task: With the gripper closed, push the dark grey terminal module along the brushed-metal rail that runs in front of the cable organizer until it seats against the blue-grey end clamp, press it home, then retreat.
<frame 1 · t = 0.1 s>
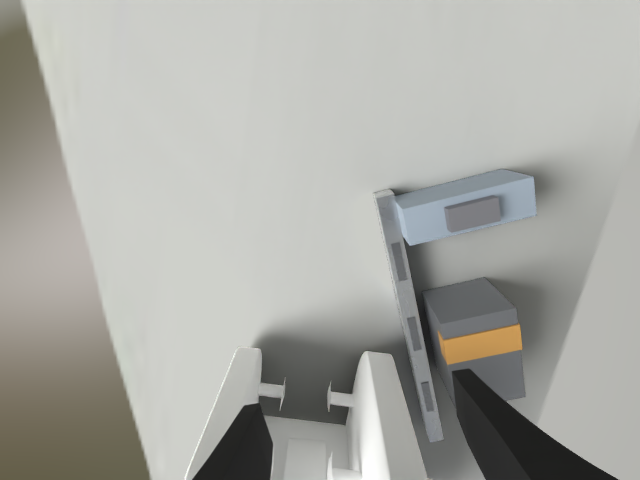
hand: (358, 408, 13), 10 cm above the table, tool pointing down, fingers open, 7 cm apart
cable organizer: (306, 412, 26), on the table
module: (458, 323, 23), on the table
rail: (408, 321, 23), on the table
end clamp: (448, 199, 20), on the table
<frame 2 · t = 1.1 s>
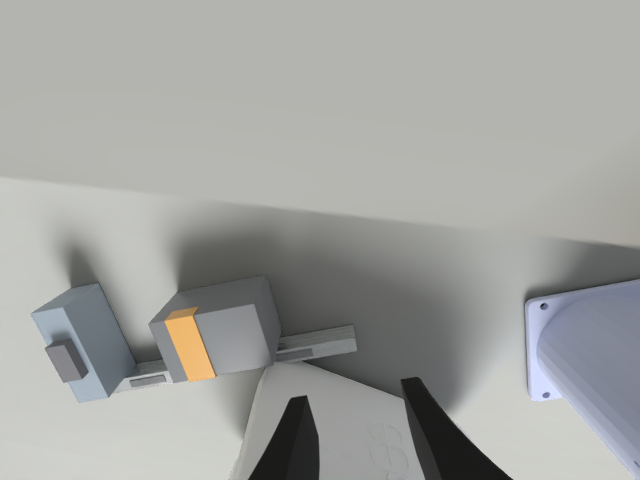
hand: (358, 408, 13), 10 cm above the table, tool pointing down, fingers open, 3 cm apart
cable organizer: (343, 425, 26), on the table
module: (230, 309, 23), on the table
rail: (226, 353, 24), on the table
end clamp: (104, 327, 23), on the table
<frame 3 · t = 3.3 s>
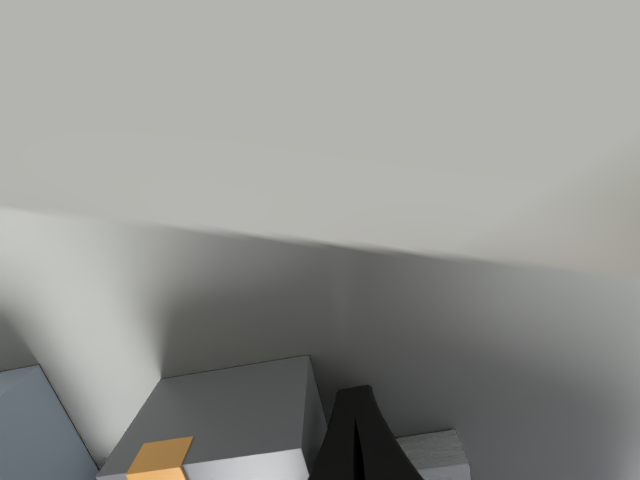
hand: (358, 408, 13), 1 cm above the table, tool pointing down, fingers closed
module: (247, 407, 14), on the table, touching gripper
rail: (247, 469, 15), on the table
end clamp: (52, 430, 14), on the table
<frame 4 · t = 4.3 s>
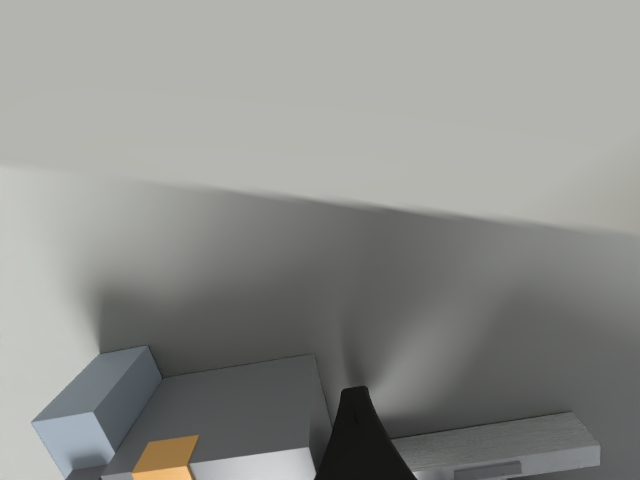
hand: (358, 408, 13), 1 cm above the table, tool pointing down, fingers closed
module: (251, 406, 14), on the table, touching end clamp, gripper
rail: (351, 454, 15), on the table
end clamp: (153, 414, 14), on the table
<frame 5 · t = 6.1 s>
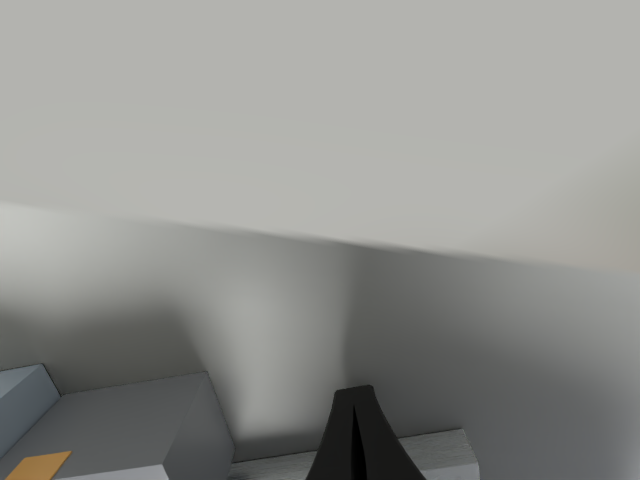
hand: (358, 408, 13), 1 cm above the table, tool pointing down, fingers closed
module: (153, 419, 14), on the table
rail: (252, 469, 15), on the table
end clamp: (55, 430, 14), on the table
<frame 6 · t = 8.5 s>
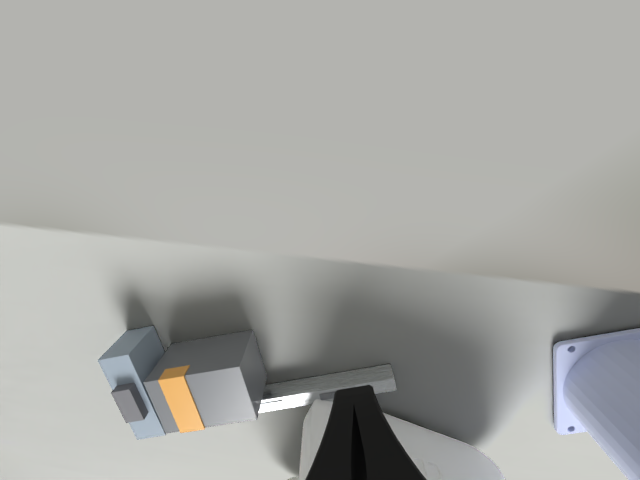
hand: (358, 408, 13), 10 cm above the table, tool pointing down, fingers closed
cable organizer: (377, 454, 27), on the table
module: (220, 359, 25), on the table
rail: (270, 389, 25), on the table
end clamp: (156, 365, 25), on the table
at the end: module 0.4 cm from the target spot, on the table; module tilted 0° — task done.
